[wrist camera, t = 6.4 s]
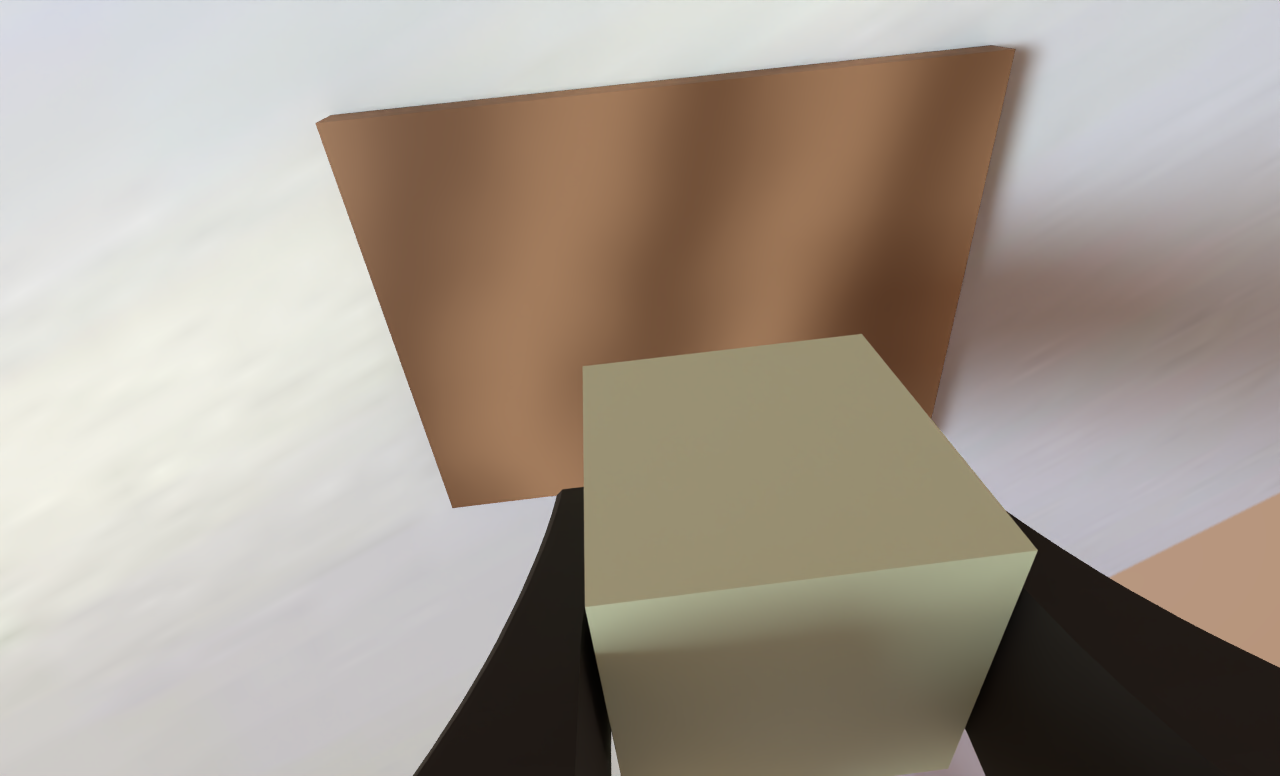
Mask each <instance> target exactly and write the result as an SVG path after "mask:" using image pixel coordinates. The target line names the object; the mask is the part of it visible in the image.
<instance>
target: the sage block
mask: <svg viewBox="0 0 1280 776" xmlns="http://www.w3.org/2000/svg"><path fill="white" fill-rule="evenodd" d="M583 461H584V563H585V610H586V614H587V619H588V624H589V628H590V633H591V638H592V642H593V647H594V652H595V656H596V661H597V666H598V670H599V675H600V680H601V684H602V689H603V694H604V698H605V703H606V708H607V712H608V717H609V722H610V726H611V731H612V736H613V740H614V745H615V750H616V754H617V759H618V764H619V768H620V773H621V776H897V775H904V774H912V773H919V772H927V771H934V770H942V769H948V768H949V765H950V763H951V760H952V758H953V756H954V753H955V751H956V748H957V746H958V743H959V741H960V738H961V736H962V734H963V731H964V729H965V726H966V724H967V721H968V719H969V717H970V714H971V712H972V709H973V707H974V704H975V702H976V700H977V697H978V695H979V692H980V690H981V687H982V685H983V683H984V680H985V678H986V675H987V673H988V670H989V668H990V666H991V663H992V661H993V658H994V656H995V653H996V651H997V649H998V646H999V644H1000V641H1001V639H1002V636H1003V634H1004V631H1005V629H1006V627H1007V624H1008V622H1009V619H1010V617H1011V614H1012V612H1013V610H1014V607H1015V605H1016V602H1017V600H1018V597H1019V595H1020V593H1021V590H1022V588H1023V585H1024V583H1025V580H1026V578H1027V576H1028V573H1029V571H1030V568H1031V566H1032V563H1033V561H1034V559H1035V556H1036V554H1037V551H1038V550H1037V549H1036V548H1035V546H1034V545H1033V544H1032V543H1031V541H1030V540H1029V539H1028V538H1027V536H1026V535H1025V534H1024V533H1023V532H1022V530H1021V529H1020V528H1019V527H1018V525H1017V524H1016V523H1015V522H1014V520H1013V519H1012V518H1011V517H1010V516H1009V514H1008V513H1007V512H1006V511H1005V509H1004V508H1003V507H1002V506H1001V504H1000V503H999V502H998V501H997V500H996V498H995V497H994V496H993V495H992V493H991V492H990V491H989V490H988V488H987V487H986V486H985V485H984V484H983V482H982V481H981V480H980V479H979V477H978V476H977V475H976V474H975V472H974V471H973V470H972V469H971V468H970V466H969V465H968V464H967V463H966V461H965V460H964V459H963V458H962V457H961V455H960V454H959V453H958V452H957V450H956V449H955V448H954V447H953V445H952V444H951V443H950V442H949V441H948V439H947V438H946V437H945V436H944V434H943V433H942V432H941V431H940V429H939V428H938V427H937V426H936V425H935V423H934V422H933V421H932V420H931V418H930V417H929V416H928V415H927V413H926V412H925V411H924V410H923V409H922V407H921V406H920V405H919V404H918V402H917V401H916V400H915V399H914V397H913V396H912V395H911V394H910V393H909V391H908V390H907V389H906V388H905V386H904V385H903V384H902V383H901V381H900V380H899V379H898V378H897V377H896V375H895V374H894V373H893V372H892V370H891V369H890V368H889V367H888V365H887V364H886V363H885V362H884V361H883V359H882V358H881V357H880V356H879V354H878V353H877V352H876V351H875V350H874V348H873V347H872V346H871V345H870V343H869V342H868V341H867V340H866V338H865V337H864V336H863V335H862V334H857V335H848V336H839V337H831V338H822V339H813V340H805V341H796V342H788V343H779V344H770V345H762V346H753V347H745V348H736V349H727V350H719V351H710V352H702V353H693V354H684V355H676V356H667V357H659V358H650V359H641V360H633V361H624V362H616V363H607V364H598V365H590V366H583Z"/></svg>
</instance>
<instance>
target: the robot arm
mask: <svg viewBox="0 0 1280 776" xmlns="http://www.w3.org/2000/svg"><path fill="white" fill-rule="evenodd" d="M1005 511H1006V510H1005ZM1006 512H1007V511H1006ZM1007 513H1008V512H1007ZM1008 514H1009V516H1010V517H1011V518H1012V519H1013V520H1014V522H1015V523H1016V524H1017V525H1018V527H1019V528H1020V529H1021V530H1022V532H1023V533H1024V534H1025V535H1026V536H1027V538H1028V539H1029V540H1030V541H1031V543H1032V544H1033V545H1034V546H1035V548H1036V549H1037V550H1038V551H1037V554H1036V556H1035V559H1034V561H1033V563H1032V566H1031V568H1030V571H1029V573H1028V576H1027V578H1026V580H1025V583H1024V585H1023V588H1022V590H1021V593H1020V595H1019V597H1018V600H1017V602H1016V605H1015V607H1014V610H1013V612H1012V614H1011V617H1010V619H1009V622H1008V624H1007V627H1006V629H1005V631H1004V634H1003V636H1002V639H1001V641H1000V644H999V646H998V649H997V651H996V653H995V656H994V658H993V661H992V663H991V666H990V668H989V670H988V673H987V675H986V678H985V680H984V683H983V685H982V687H981V690H980V692H979V695H978V697H977V700H976V702H975V704H974V707H973V709H972V712H971V714H970V717H969V719H968V721H967V724H966V726H965V729H964V731H963V734H962V736H961V738H960V741H959V743H958V746H957V748H956V751H955V753H954V756H953V758H952V760H951V763H950V765H949V768H948V769H942V770H934V771H927V772H919V773H912V774H904V775H897V776H1280V668H1279V667H1277V666H1275V665H1273V664H1271V663H1269V662H1267V661H1265V660H1263V659H1261V658H1259V657H1257V656H1255V655H1252V654H1250V653H1248V652H1246V651H1244V650H1242V649H1240V648H1238V647H1236V646H1234V645H1232V644H1230V643H1228V642H1226V641H1224V640H1222V639H1220V638H1218V637H1216V636H1214V635H1212V634H1210V633H1208V632H1206V631H1204V630H1202V629H1200V628H1198V627H1196V626H1194V625H1192V624H1190V623H1189V622H1187V621H1185V620H1183V619H1181V618H1179V617H1177V616H1176V615H1174V614H1172V613H1170V612H1168V611H1167V610H1165V609H1163V608H1161V607H1159V606H1158V605H1156V604H1154V603H1152V602H1150V601H1149V600H1147V599H1145V598H1143V597H1141V596H1140V595H1138V594H1136V593H1134V592H1132V591H1130V590H1129V589H1127V588H1125V587H1124V586H1122V585H1120V584H1119V583H1117V582H1115V581H1113V580H1112V579H1110V578H1108V577H1107V576H1105V575H1103V574H1102V573H1100V572H1098V571H1097V570H1095V569H1094V568H1092V567H1091V566H1089V565H1087V564H1086V563H1084V562H1083V561H1081V560H1079V559H1078V558H1076V557H1075V556H1073V555H1071V554H1070V553H1068V552H1067V551H1065V550H1063V549H1062V548H1060V547H1059V546H1057V545H1056V544H1054V543H1053V542H1051V541H1050V540H1048V539H1047V538H1045V537H1044V536H1042V535H1041V534H1039V533H1038V532H1036V531H1035V530H1033V529H1032V528H1030V527H1029V526H1027V525H1026V524H1024V523H1023V522H1021V521H1020V520H1018V519H1017V518H1016V517H1014V516H1013V515H1011V514H1010V513H1008ZM413 776H611V726H610V722H609V717H608V712H607V708H606V703H605V698H604V694H603V689H602V684H601V680H600V675H599V670H598V666H597V661H596V656H595V652H594V647H593V642H592V638H591V633H590V628H589V624H588V619H587V614H586V610H585V563H584V487H578V488H569V489H562V490H561V491H560V492H559V493H558V494H557V497H556V501H555V505H554V508H553V512H552V515H551V518H550V521H549V524H548V527H547V530H546V533H545V536H544V538H543V541H542V543H541V546H540V549H539V551H538V554H537V556H536V559H535V561H534V563H533V566H532V568H531V570H530V573H529V575H528V577H527V580H526V582H525V584H524V587H523V589H522V591H521V593H520V595H519V598H518V600H517V602H516V604H515V606H514V608H513V610H512V612H511V614H510V616H509V618H508V620H507V622H506V624H505V626H504V628H503V630H502V632H501V634H500V636H499V638H498V640H497V642H496V644H495V645H494V647H493V649H492V651H491V653H490V655H489V656H488V658H487V660H486V662H485V664H484V665H483V667H482V669H481V671H480V672H479V674H478V676H477V678H476V679H475V681H474V683H473V684H472V686H471V688H470V689H469V691H468V693H467V694H466V696H465V698H464V699H463V701H462V703H461V704H460V706H459V707H458V709H457V710H456V712H455V714H454V715H453V717H452V718H451V720H450V721H449V723H448V724H447V726H446V727H445V729H444V730H443V732H442V733H441V735H440V737H439V738H438V740H437V741H436V743H435V744H434V746H433V747H432V749H431V750H430V752H429V753H428V755H427V756H426V758H425V759H424V760H423V762H422V763H421V765H420V766H419V768H418V769H417V771H416V772H415V773H414V775H413Z"/></svg>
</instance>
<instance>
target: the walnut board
mask: <svg viewBox="0 0 1280 776" xmlns="http://www.w3.org/2000/svg"><path fill="white" fill-rule="evenodd" d="M1014 53H1015V49H1012V48H1005V47H998V46H991V45H990V46H981V47H972V48H962V49H953V50H943V51H934V52H924V53H915V54H905V55H896V56H886V57H877V58H868V59H858V60H849V61H839V62H830V63H820V64H811V65H801V66H792V67H783V68H773V69H764V70H754V71H745V72H735V73H726V74H716V75H707V76H697V77H688V78H679V79H669V80H660V81H650V82H641V83H631V84H622V85H612V86H603V87H594V88H584V89H575V90H565V91H556V92H546V93H537V94H527V95H518V96H508V97H499V98H490V99H480V100H471V101H461V102H452V103H442V104H433V105H423V106H414V107H404V108H395V109H386V110H376V111H367V112H357V113H348V114H338V115H330V116H328V117H327V118H325V119H323V120H321V121H319V122H317V123H316V126H317V129H318V132H319V134H320V137H321V140H322V143H323V146H324V148H325V151H326V154H327V157H328V160H329V162H330V165H331V168H332V171H333V174H334V176H335V179H336V182H337V185H338V188H339V190H340V193H341V196H342V199H343V202H344V205H345V207H346V210H347V213H348V216H349V219H350V221H351V224H352V227H353V230H354V233H355V235H356V238H357V241H358V244H359V247H360V249H361V252H362V255H363V258H364V261H365V263H366V266H367V269H368V272H369V275H370V278H371V280H372V283H373V286H374V289H375V292H376V294H377V297H378V300H379V303H380V306H381V308H382V311H383V314H384V317H385V320H386V322H387V325H388V328H389V331H390V334H391V336H392V339H393V342H394V345H395V348H396V351H397V353H398V356H399V359H400V362H401V365H402V367H403V370H404V373H405V376H406V379H407V381H408V384H409V387H410V390H411V393H412V395H413V398H414V401H415V404H416V407H417V409H418V412H419V415H420V418H421V421H422V423H423V426H424V429H425V432H426V435H427V438H428V440H429V443H430V446H431V449H432V452H433V454H434V457H435V460H436V463H437V466H438V468H439V471H440V474H441V477H442V480H443V482H444V485H445V488H446V491H447V494H448V496H449V499H450V502H451V505H452V508H457V507H465V506H473V505H481V504H490V503H498V502H506V501H515V500H523V499H531V498H539V497H548V496H556V495H557V494H558V493H559V492H560V491H561V490H562V489H569V488H578V487H584V461H583V366H590V365H598V364H607V363H616V362H624V361H633V360H641V359H650V358H659V357H667V356H676V355H684V354H693V353H702V352H710V351H719V350H727V349H736V348H745V347H753V346H762V345H770V344H779V343H788V342H796V341H805V340H813V339H822V338H831V337H839V336H848V335H857V334H862V335H863V336H864V337H865V338H866V340H867V341H868V342H869V343H870V345H871V346H872V347H873V348H874V350H875V351H876V352H877V353H878V354H879V356H880V357H881V358H882V359H883V361H884V362H885V363H886V364H887V365H888V367H889V368H890V369H891V370H892V372H893V373H894V374H895V375H896V377H897V378H898V379H899V380H900V381H901V383H902V384H903V385H904V386H905V388H906V389H907V390H908V391H909V393H910V394H911V395H912V396H913V397H914V399H915V400H916V401H917V402H918V404H919V405H920V406H921V407H922V409H923V410H924V411H925V412H926V413H927V415H928V416H929V417H930V418H932V413H933V409H934V405H935V400H936V396H937V392H938V387H939V383H940V378H941V374H942V370H943V365H944V361H945V356H946V352H947V348H948V343H949V339H950V334H951V330H952V326H953V321H954V317H955V312H956V308H957V304H958V299H959V295H960V291H961V286H962V282H963V277H964V273H965V269H966V264H967V260H968V255H969V251H970V247H971V242H972V238H973V233H974V229H975V225H976V220H977V216H978V211H979V207H980V203H981V198H982V194H983V189H984V185H985V181H986V176H987V172H988V168H989V163H990V159H991V154H992V150H993V146H994V141H995V137H996V132H997V128H998V124H999V119H1000V115H1001V110H1002V106H1003V102H1004V97H1005V93H1006V88H1007V84H1008V80H1009V75H1010V71H1011V66H1012V62H1013V58H1014Z"/></svg>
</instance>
